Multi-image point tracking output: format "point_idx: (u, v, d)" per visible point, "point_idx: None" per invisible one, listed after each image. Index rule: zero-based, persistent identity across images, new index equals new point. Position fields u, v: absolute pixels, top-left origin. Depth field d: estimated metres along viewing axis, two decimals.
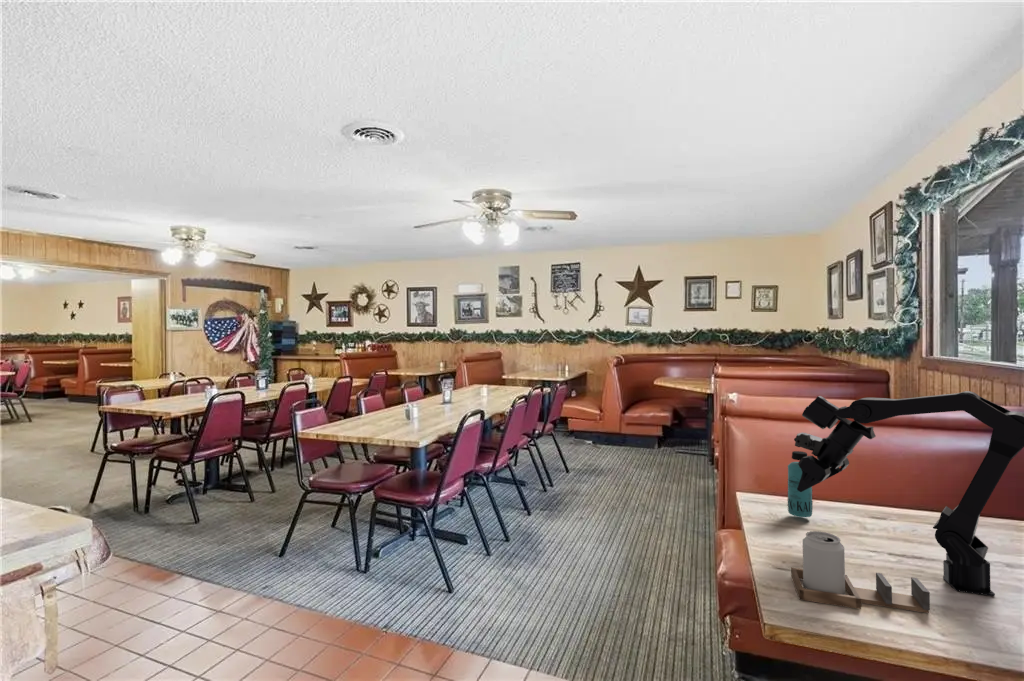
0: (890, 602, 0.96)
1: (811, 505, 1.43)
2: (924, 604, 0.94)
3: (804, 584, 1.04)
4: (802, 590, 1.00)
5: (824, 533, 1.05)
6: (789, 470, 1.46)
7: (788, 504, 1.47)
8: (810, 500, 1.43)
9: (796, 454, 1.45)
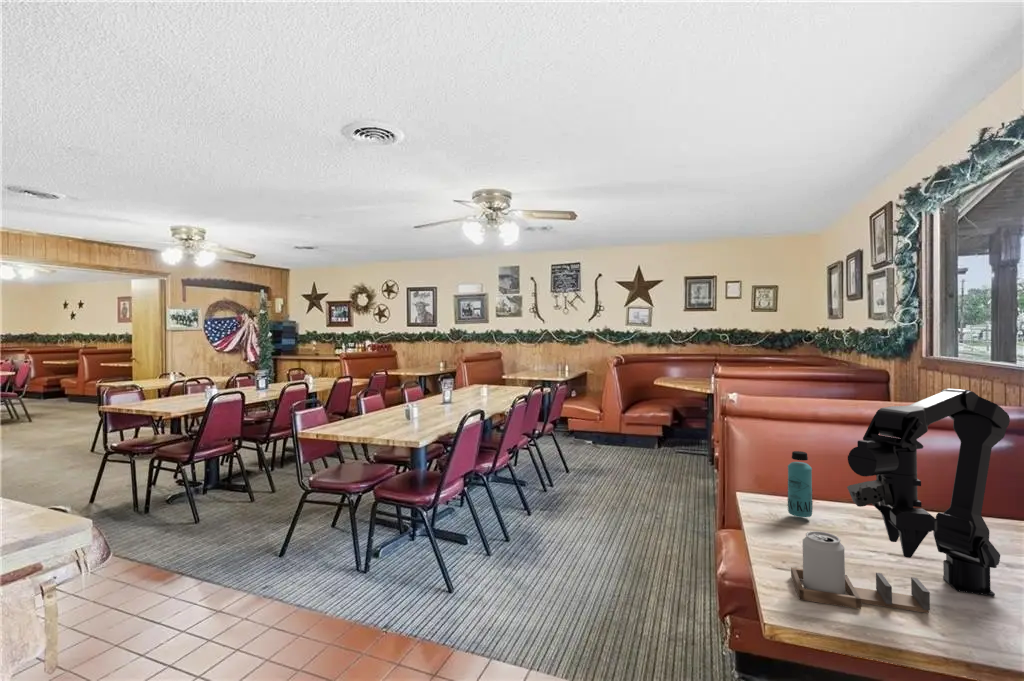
0: (890, 602, 0.96)
1: (811, 505, 1.43)
2: (924, 604, 0.94)
3: (804, 584, 1.04)
4: (802, 590, 1.00)
5: (824, 533, 1.05)
6: (789, 470, 1.46)
7: (788, 504, 1.47)
8: (810, 500, 1.43)
9: (796, 454, 1.45)
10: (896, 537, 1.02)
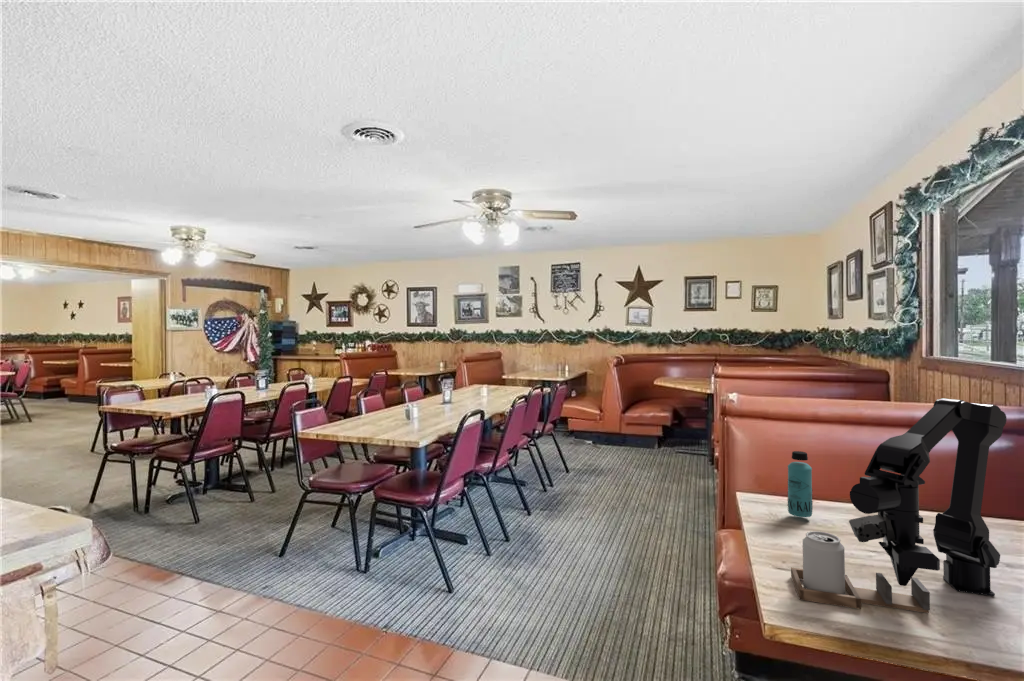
0: (890, 602, 0.96)
1: (811, 505, 1.43)
2: (924, 604, 0.94)
3: (804, 584, 1.04)
4: (802, 590, 1.00)
5: (824, 533, 1.05)
6: (789, 470, 1.46)
7: (788, 504, 1.47)
8: (810, 500, 1.43)
9: (796, 454, 1.45)
10: None
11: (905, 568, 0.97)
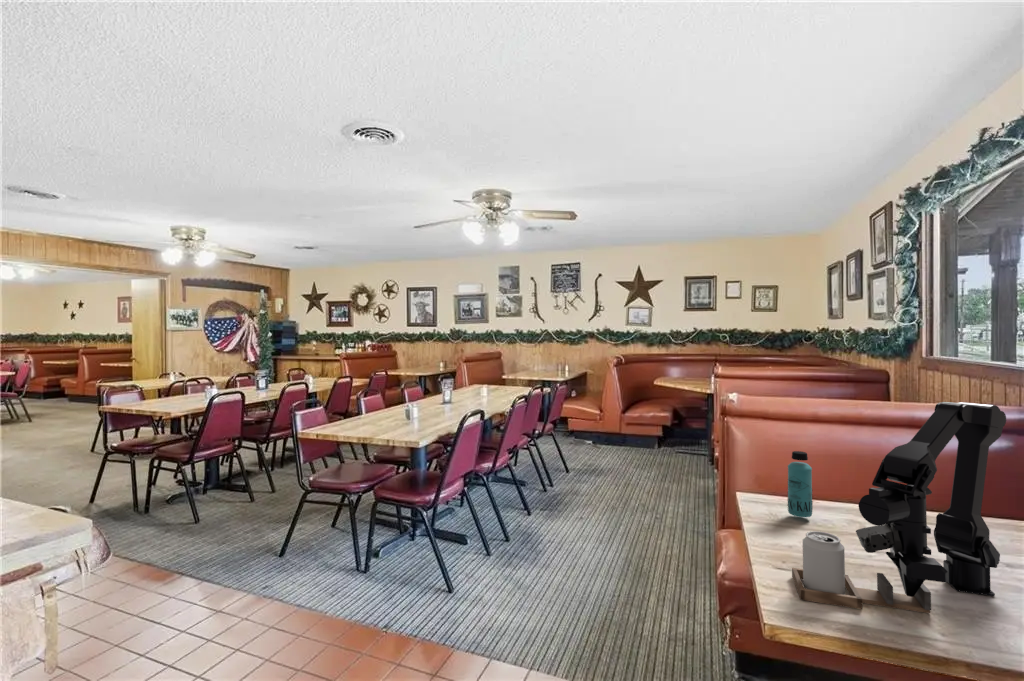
0: (891, 602, 0.96)
1: (811, 505, 1.43)
2: (925, 604, 0.94)
3: (804, 584, 1.04)
4: (803, 590, 1.00)
5: (824, 533, 1.05)
6: (789, 470, 1.46)
7: (788, 504, 1.47)
8: (810, 500, 1.43)
9: (796, 454, 1.45)
10: None
11: (912, 579, 0.97)
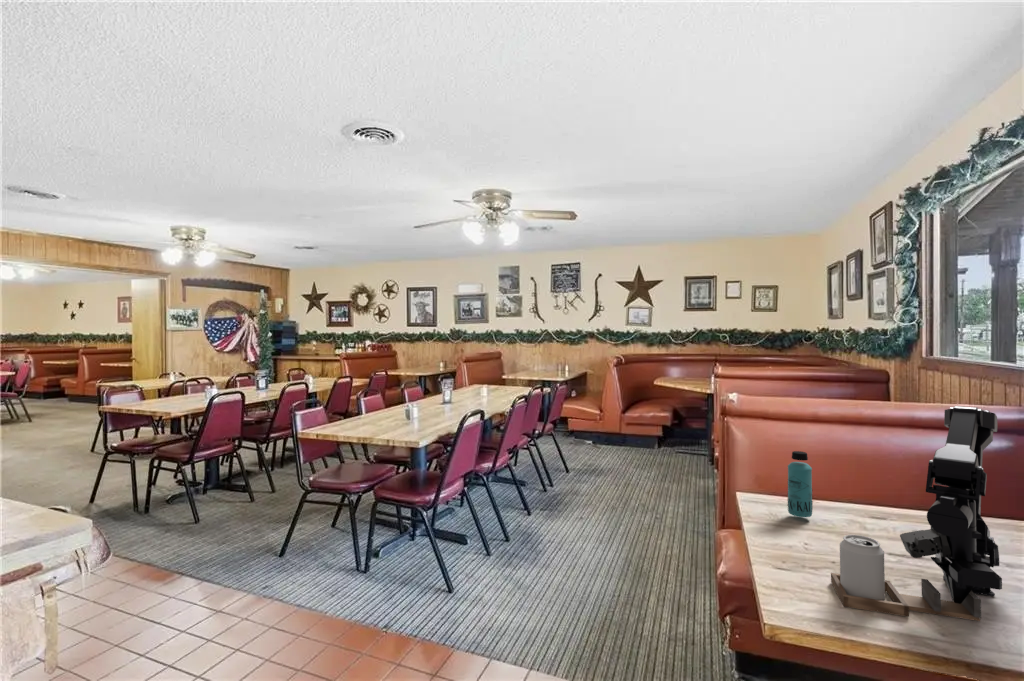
0: (939, 609, 0.94)
1: (811, 505, 1.43)
2: (975, 612, 0.92)
3: None
4: (846, 597, 0.97)
5: (860, 536, 1.03)
6: (789, 470, 1.46)
7: (788, 504, 1.47)
8: (810, 500, 1.43)
9: (796, 454, 1.45)
10: None
11: (961, 585, 0.94)
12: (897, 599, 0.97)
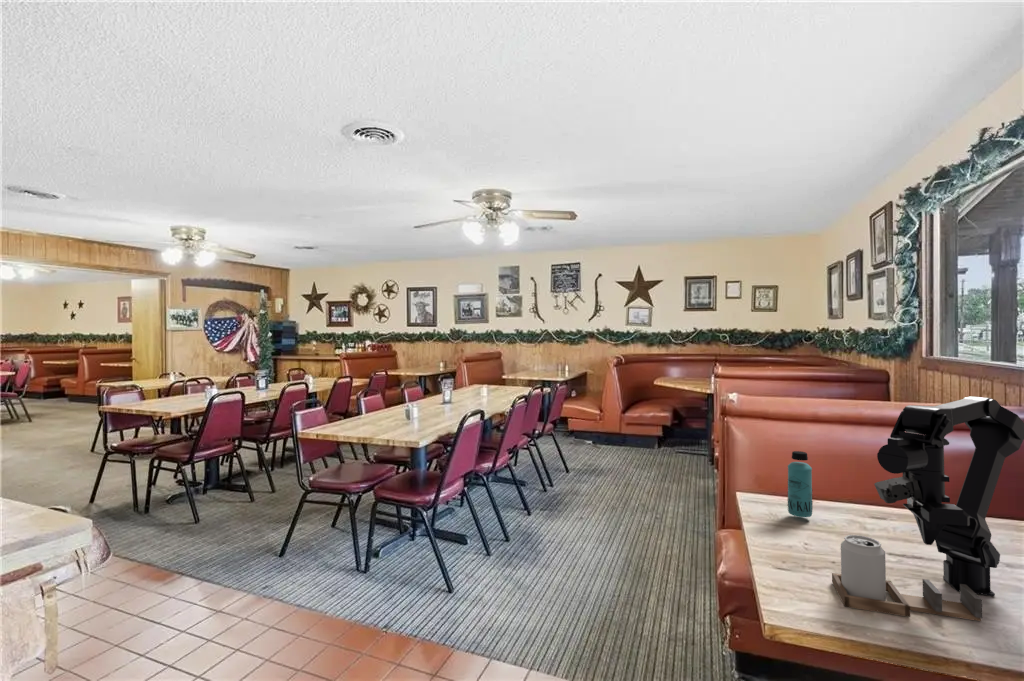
0: (940, 610, 0.94)
1: (811, 505, 1.43)
2: (976, 612, 0.92)
3: None
4: (847, 597, 0.97)
5: (861, 536, 1.03)
6: (789, 470, 1.46)
7: (788, 504, 1.47)
8: (810, 500, 1.43)
9: (796, 454, 1.45)
10: None
11: (931, 527, 0.99)
12: (898, 599, 0.97)
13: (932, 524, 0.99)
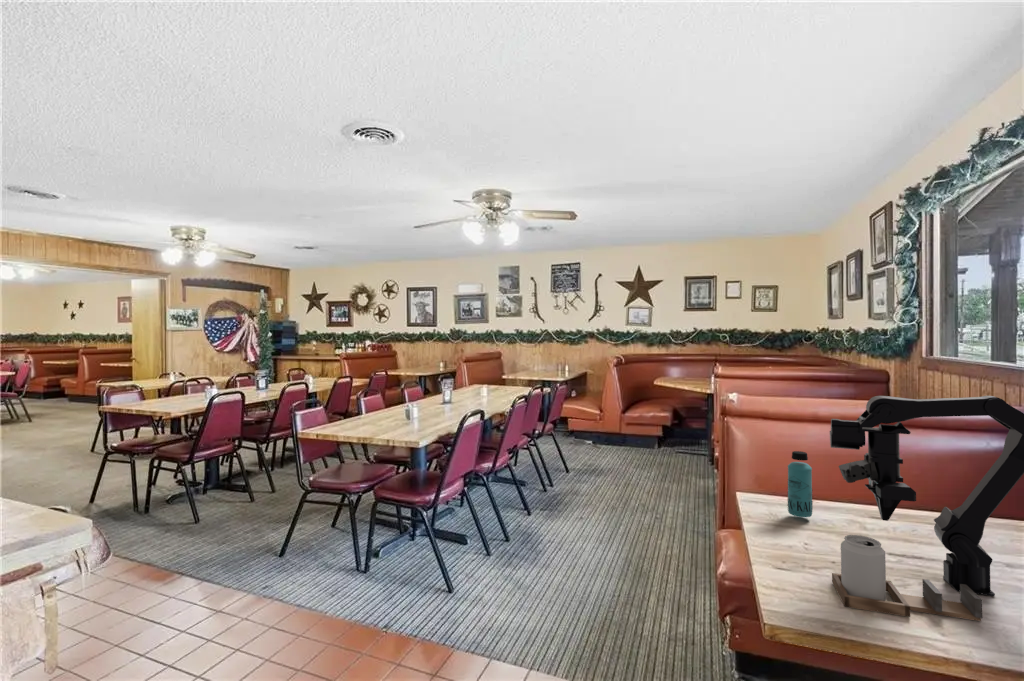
0: (940, 610, 0.94)
1: (811, 505, 1.43)
2: (976, 612, 0.92)
3: None
4: (847, 597, 0.97)
5: (861, 536, 1.03)
6: (789, 470, 1.46)
7: (788, 504, 1.47)
8: (810, 500, 1.43)
9: (796, 454, 1.45)
10: None
11: (887, 504, 1.10)
12: (898, 599, 0.97)
13: (888, 502, 1.10)
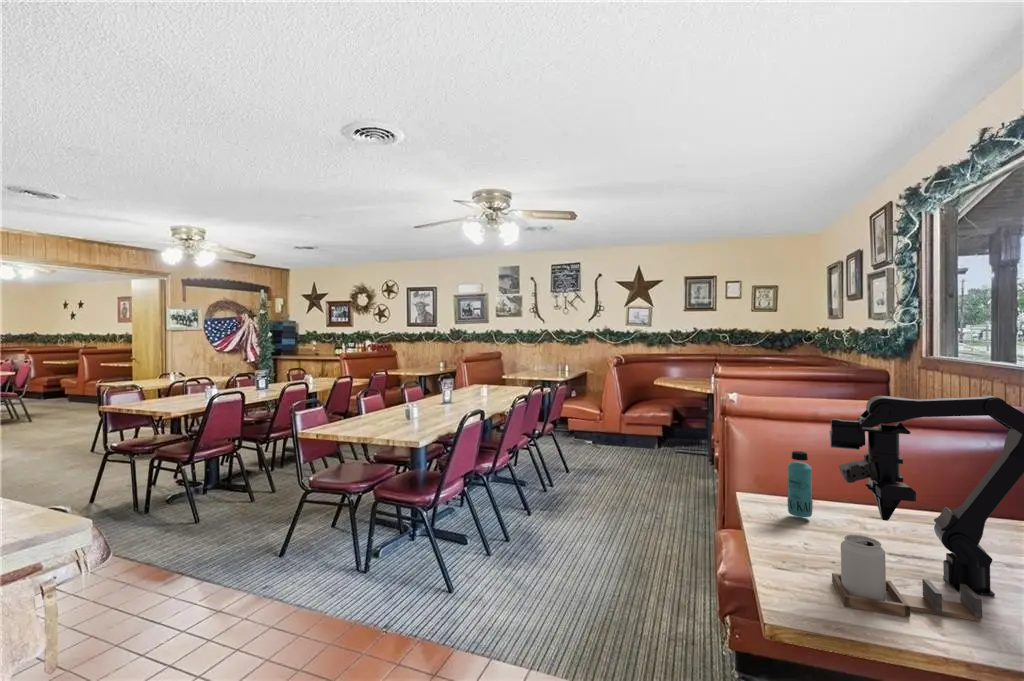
0: (940, 610, 0.94)
1: (811, 505, 1.43)
2: (976, 612, 0.92)
3: None
4: (847, 597, 0.97)
5: (861, 536, 1.03)
6: (789, 470, 1.46)
7: (788, 504, 1.47)
8: (810, 500, 1.43)
9: (796, 454, 1.45)
10: None
11: (887, 504, 1.10)
12: (898, 599, 0.97)
13: (888, 502, 1.10)
